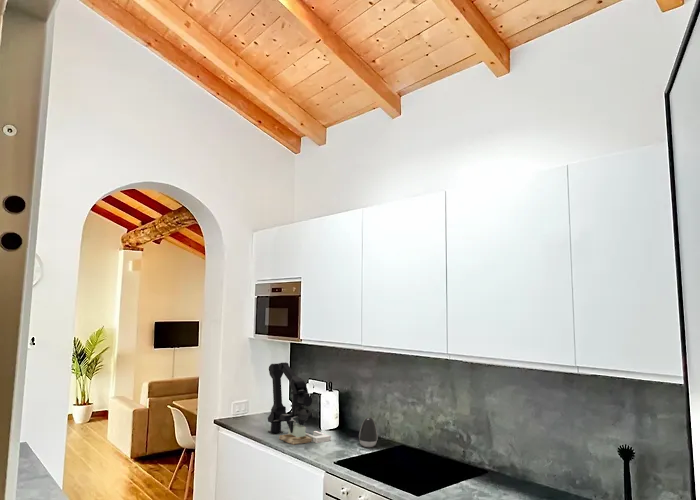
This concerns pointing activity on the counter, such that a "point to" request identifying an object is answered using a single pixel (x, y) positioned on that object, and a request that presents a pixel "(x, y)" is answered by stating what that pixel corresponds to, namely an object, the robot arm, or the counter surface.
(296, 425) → the caddy
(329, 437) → the housing
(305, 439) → the tray
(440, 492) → the counter surface
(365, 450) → the counter surface
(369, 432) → the egg shaped speaker
